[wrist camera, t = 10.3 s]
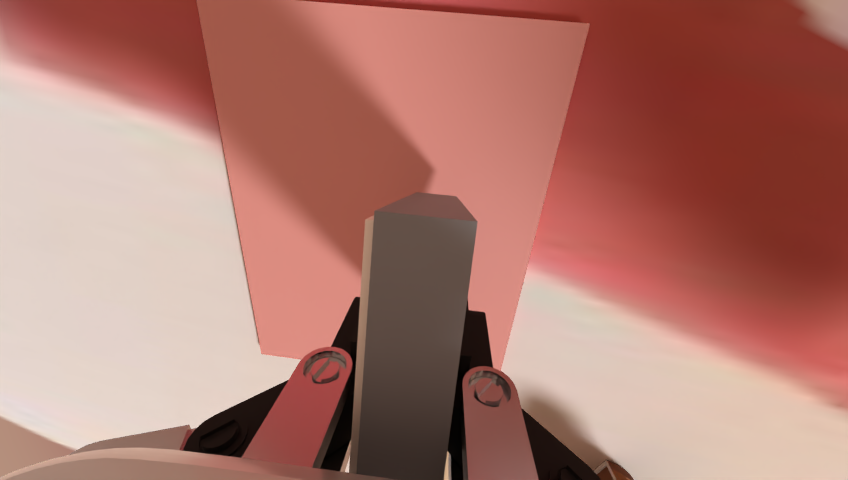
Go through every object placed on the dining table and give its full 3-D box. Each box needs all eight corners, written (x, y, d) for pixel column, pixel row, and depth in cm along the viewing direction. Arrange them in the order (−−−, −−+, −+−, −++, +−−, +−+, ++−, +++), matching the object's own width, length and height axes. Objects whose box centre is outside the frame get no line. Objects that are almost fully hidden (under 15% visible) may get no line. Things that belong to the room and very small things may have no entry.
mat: (585, 26, 13) (589, 23, 12) (495, 379, 21) (496, 386, 21) (203, -5, 13) (194, -8, 13) (265, 348, 22) (261, 353, 22)
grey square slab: (477, 221, 5) (429, 580, 7) (456, 196, 14) (437, 356, 16) (363, 209, 6) (340, 567, 7) (412, 191, 14) (397, 351, 16)
